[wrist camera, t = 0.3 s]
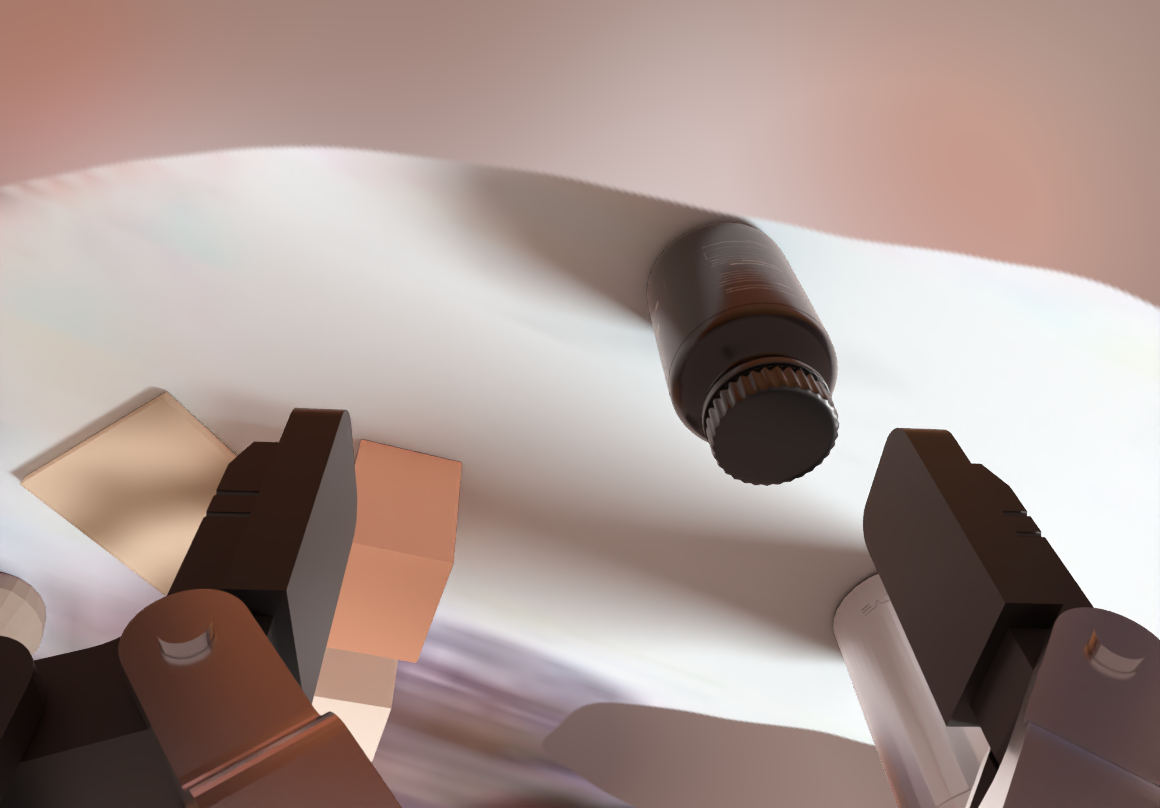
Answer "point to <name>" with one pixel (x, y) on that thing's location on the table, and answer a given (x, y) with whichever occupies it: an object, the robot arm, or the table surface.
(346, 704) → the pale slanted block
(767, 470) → the supplement bottle
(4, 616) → the decorative mushroom
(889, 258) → the table surface
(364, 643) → the peach rectangular brick
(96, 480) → the birch coaster
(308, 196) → the table surface
